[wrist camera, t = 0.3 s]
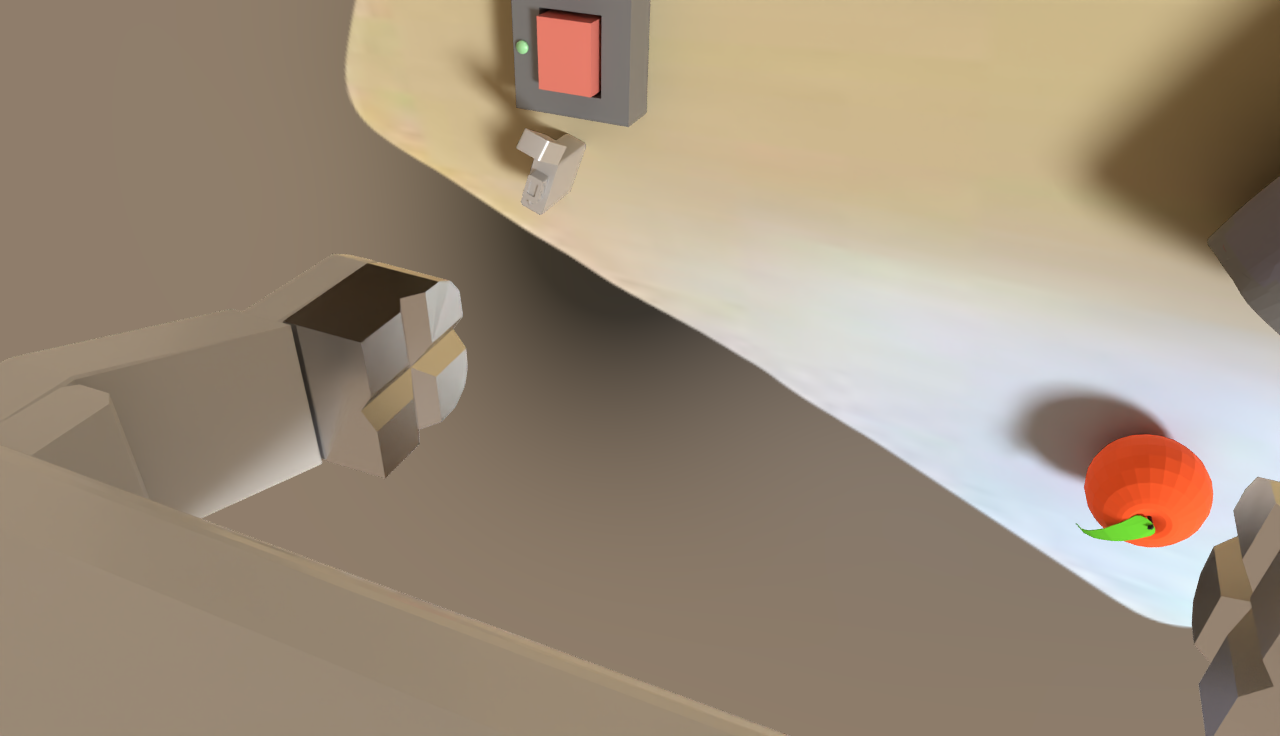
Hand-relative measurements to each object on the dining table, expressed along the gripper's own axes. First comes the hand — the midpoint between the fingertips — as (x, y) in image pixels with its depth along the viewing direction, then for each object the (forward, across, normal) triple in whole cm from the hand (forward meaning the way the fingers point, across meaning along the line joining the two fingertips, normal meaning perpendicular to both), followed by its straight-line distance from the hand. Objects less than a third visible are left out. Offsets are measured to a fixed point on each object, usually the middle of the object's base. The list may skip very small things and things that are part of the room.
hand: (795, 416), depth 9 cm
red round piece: (+47, -15, +32) cm, 58 cm away
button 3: (+46, +24, +10) cm, 53 cm away
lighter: (+47, +26, +17) cm, 56 cm away
